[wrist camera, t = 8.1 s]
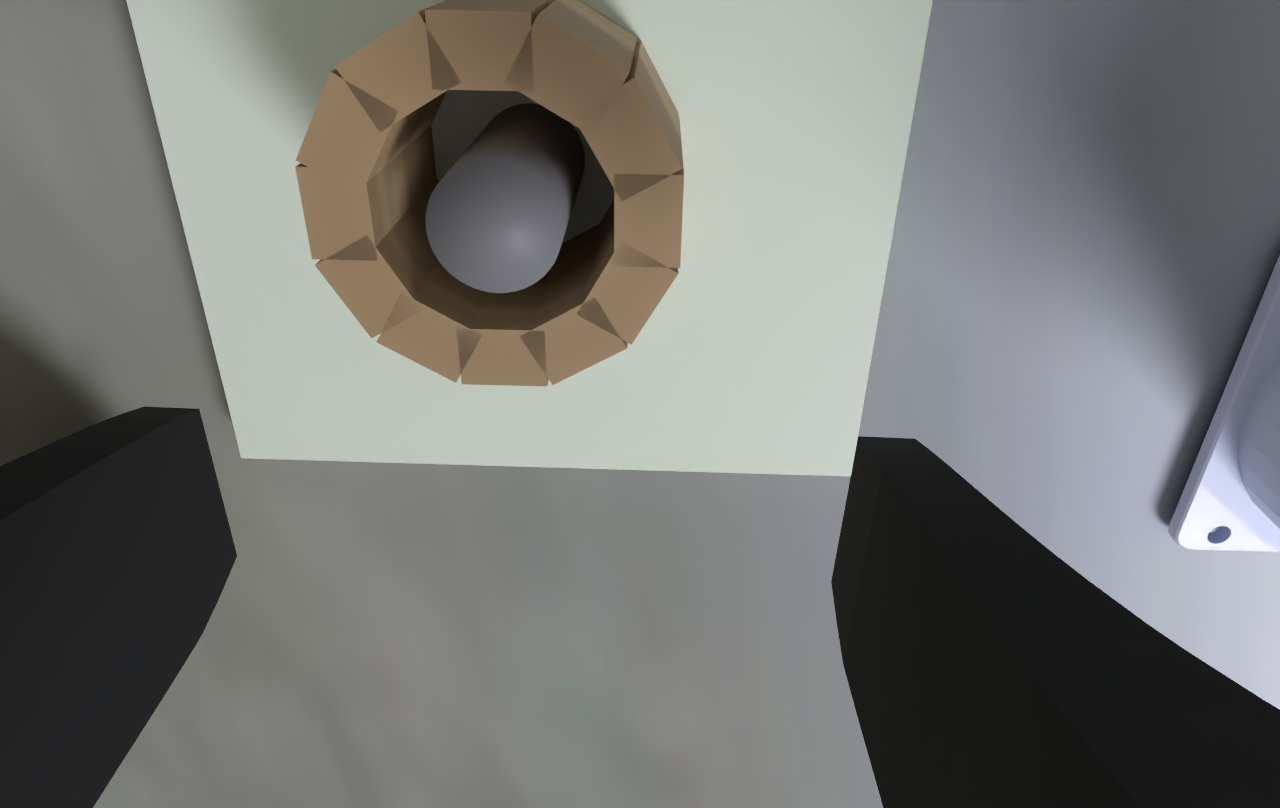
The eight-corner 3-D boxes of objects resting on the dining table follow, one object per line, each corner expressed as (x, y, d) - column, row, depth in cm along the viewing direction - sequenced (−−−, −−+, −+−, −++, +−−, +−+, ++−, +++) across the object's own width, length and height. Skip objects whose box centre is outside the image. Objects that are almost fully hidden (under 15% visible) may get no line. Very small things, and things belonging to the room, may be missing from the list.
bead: (684, -9, 15) (691, 14, 11) (672, 295, 17) (675, 389, 14) (359, -15, 15) (266, 6, 11) (399, 289, 18) (334, 380, 14)
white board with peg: (968, -297, 13) (1117, -401, 9) (844, 457, 20) (894, 604, 16) (76, -316, 13) (-204, -426, 9) (255, 439, 20) (145, 581, 16)
